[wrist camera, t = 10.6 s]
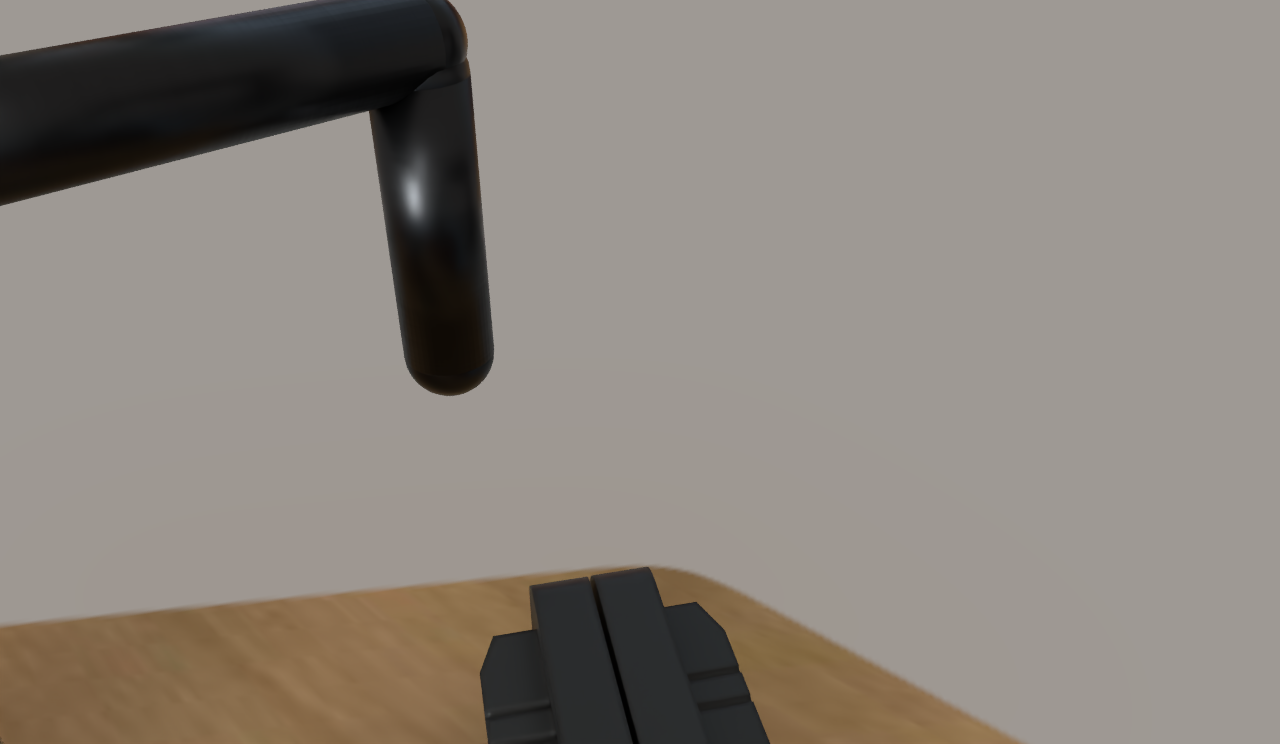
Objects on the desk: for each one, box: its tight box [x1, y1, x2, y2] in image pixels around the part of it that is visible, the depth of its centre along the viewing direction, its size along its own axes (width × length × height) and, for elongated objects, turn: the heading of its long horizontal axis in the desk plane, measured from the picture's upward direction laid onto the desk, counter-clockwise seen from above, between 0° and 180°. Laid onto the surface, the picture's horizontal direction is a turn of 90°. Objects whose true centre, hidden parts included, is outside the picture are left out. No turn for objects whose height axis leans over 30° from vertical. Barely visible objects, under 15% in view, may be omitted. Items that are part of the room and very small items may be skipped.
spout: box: [0, 0, 494, 396], centre depth 13 cm, size 12×3×9 cm, turn 135°
